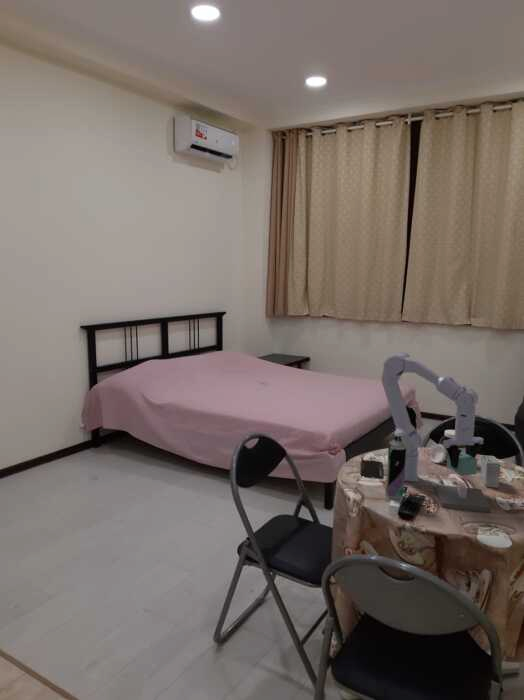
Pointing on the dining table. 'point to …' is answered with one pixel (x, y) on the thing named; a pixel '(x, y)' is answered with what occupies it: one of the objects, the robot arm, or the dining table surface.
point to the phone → (371, 469)
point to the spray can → (395, 468)
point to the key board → (462, 498)
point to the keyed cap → (464, 464)
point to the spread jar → (443, 448)
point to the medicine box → (490, 471)
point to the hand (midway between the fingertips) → (461, 466)
